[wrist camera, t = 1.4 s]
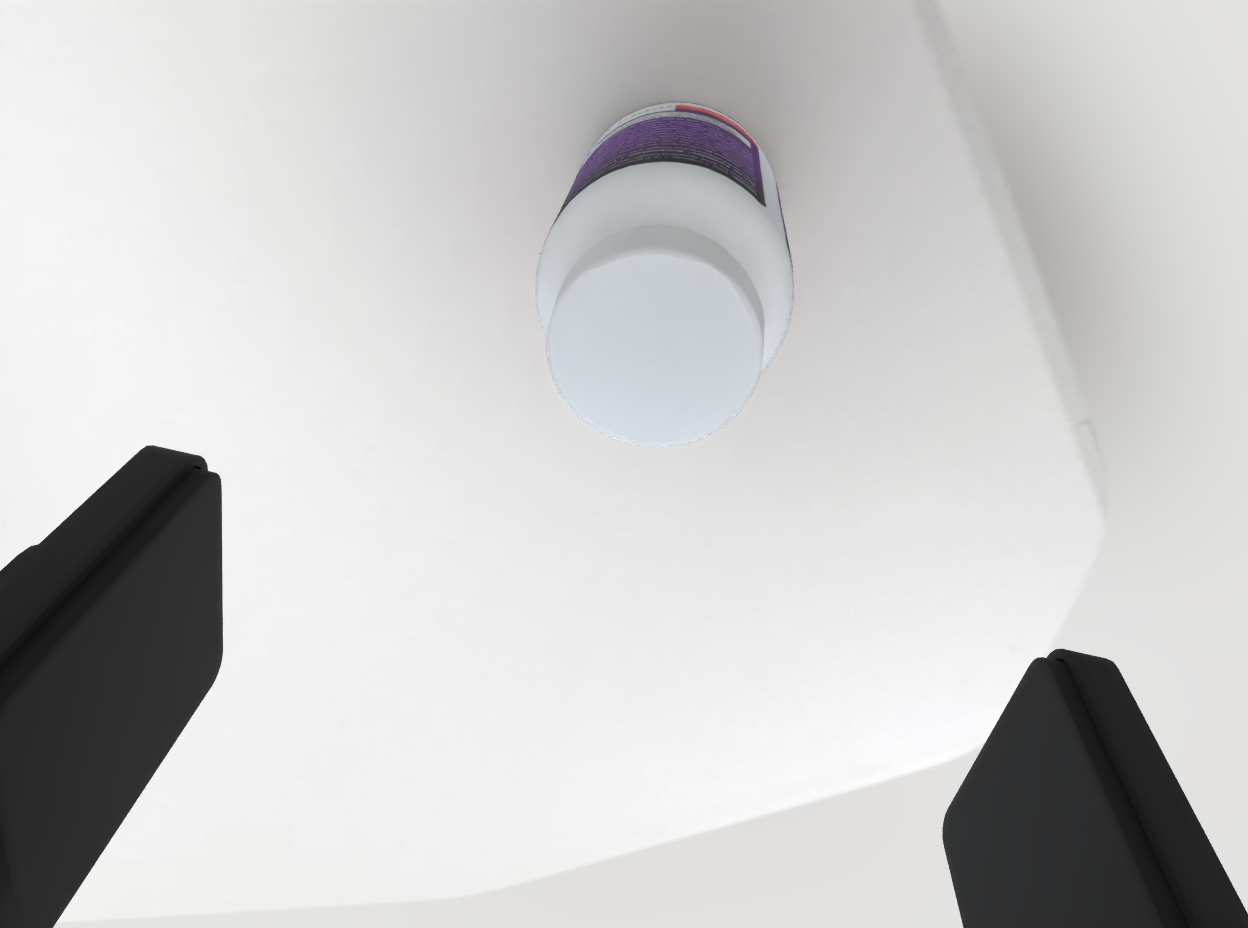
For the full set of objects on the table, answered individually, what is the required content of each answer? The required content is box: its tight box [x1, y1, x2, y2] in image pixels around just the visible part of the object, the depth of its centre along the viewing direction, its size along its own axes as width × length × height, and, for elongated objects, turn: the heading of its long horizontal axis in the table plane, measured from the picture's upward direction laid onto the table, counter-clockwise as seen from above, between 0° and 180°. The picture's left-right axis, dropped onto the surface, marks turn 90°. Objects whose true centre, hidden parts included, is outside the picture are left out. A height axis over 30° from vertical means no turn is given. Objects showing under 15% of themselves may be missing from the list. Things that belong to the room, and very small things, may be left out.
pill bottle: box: [536, 102, 794, 447], centre depth 21 cm, size 5×5×10 cm
